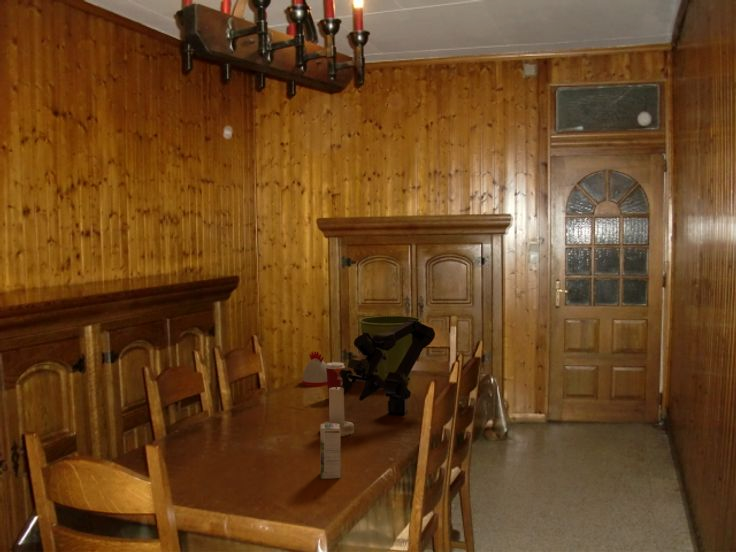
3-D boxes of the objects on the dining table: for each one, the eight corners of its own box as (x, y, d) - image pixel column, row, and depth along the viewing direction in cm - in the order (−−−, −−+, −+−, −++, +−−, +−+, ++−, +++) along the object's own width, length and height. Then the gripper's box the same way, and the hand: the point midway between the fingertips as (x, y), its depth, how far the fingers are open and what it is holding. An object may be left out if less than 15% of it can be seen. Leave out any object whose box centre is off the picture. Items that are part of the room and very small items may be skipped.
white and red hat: (315, 378, 332) (314, 348, 331) (337, 382, 323) (337, 350, 323) (296, 384, 320) (295, 352, 319) (318, 387, 312) (318, 355, 311)
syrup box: (320, 472, 199) (319, 423, 198) (340, 471, 199) (339, 422, 199) (320, 479, 193) (319, 429, 192) (341, 478, 194) (340, 428, 193)
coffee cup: (342, 401, 285) (342, 365, 284) (323, 400, 286) (323, 365, 286) (347, 396, 293) (346, 362, 292) (328, 396, 295) (328, 361, 294)
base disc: (358, 428, 244) (358, 421, 244) (347, 437, 233) (347, 431, 233) (327, 425, 248) (327, 419, 248) (314, 435, 237) (314, 428, 237)
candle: (344, 422, 243) (343, 384, 242) (344, 427, 238) (343, 387, 237) (329, 423, 243) (328, 384, 242) (329, 427, 238) (328, 387, 237)
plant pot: (364, 371, 347) (363, 315, 345) (423, 372, 343) (422, 315, 341) (355, 384, 317) (354, 323, 316) (419, 385, 313) (418, 323, 312)
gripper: (341, 347, 254) (320, 382, 247) (378, 352, 241) (357, 389, 234) (356, 365, 260) (337, 399, 253) (393, 371, 248) (373, 407, 240)
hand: (350, 398), depth 245 cm, fingers open, 9 cm apart
